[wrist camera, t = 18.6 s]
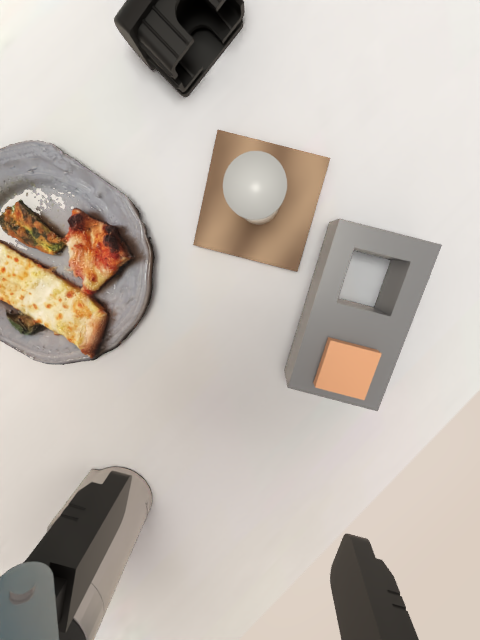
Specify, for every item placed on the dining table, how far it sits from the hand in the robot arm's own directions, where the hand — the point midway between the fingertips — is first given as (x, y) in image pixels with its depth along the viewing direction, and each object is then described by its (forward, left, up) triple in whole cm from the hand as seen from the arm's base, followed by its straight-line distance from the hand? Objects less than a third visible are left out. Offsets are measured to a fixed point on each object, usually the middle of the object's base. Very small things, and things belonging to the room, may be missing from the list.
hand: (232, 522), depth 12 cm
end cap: (-14, +28, -28) cm, 42 cm away
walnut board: (-3, +14, -28) cm, 32 cm away
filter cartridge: (-3, +14, -27) cm, 31 cm away
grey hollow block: (+10, +5, -28) cm, 30 cm away
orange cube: (+10, 0, -26) cm, 28 cm away
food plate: (-25, +2, -29) cm, 38 cm away
